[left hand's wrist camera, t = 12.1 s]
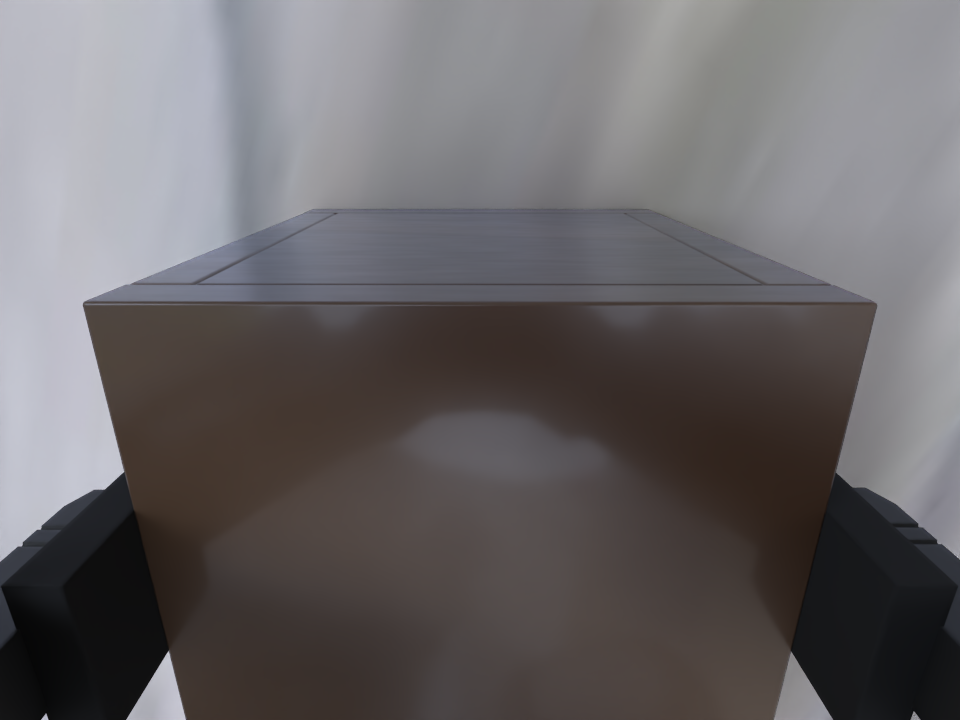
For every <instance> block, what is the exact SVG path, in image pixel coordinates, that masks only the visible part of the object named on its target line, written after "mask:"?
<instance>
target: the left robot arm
mask: <svg viewBox="0 0 960 720" xmlns="http://www.w3.org/2000/svg"><path fill="white" fill-rule="evenodd" d="M168 651H169V649H168V645H167V641H166V637H165V633H164V629H163V625H162V621H161V617H160V613H159V609H158V605H157V601H156V597H155V593H154V589H153V585H152V581H151V577H150V573H149V569H148V565H147V561H146V556H145V552H144V548H143V544H142V540H141V536H140V532H139V528H138V524H137V520H136V516H135V512H134V508H133V504H132V500H131V496H130V492H129V488H128V484H127V480H126V476H125V472H124V473H123V474H121V475H120V476H119V477H118V478H117V479H116V480H115V481H114V482H113V483H112V484H111V485H110V486H108V487H107V488H106V489H105V490H93V491H91V492H90V493H88V494H86V495H84V496H82V497H80V498H79V499H77V500H75V501H73V502H71V503H69V504H68V505H66V506H64V507H63V508H62V509H61V510H59V511H58V512H57V513H56V514H55V515H54V516H53V517H51V518H50V519H49V520H48V521H47V522H46V523H45V524H43V525H42V528H41V530H37V531H35V532H34V533H33V534H32V535H31V536H30V537H28V538H27V539H26V540H25V541H24V542H23V546H22V547H17V548H16V549H15V550H14V551H12V552H11V553H10V554H9V555H8V556H7V557H6V558H4V559H3V560H2V561H1V562H0V720H41V719H42V718H43V716H44V715H45V714H47V717H48V719H49V720H126V719H127V717H128V716H129V714H130V712H131V711H132V709H133V708H134V706H135V704H136V703H137V701H138V699H139V698H140V696H141V695H142V693H143V691H144V690H145V688H146V686H147V685H148V683H149V682H150V680H151V678H152V677H153V675H154V673H155V672H156V670H157V668H158V667H159V665H160V664H161V662H162V660H163V659H164V657H165V655H166V654H167V652H168ZM791 652H792V653H793V655H794V656H795V658H796V660H797V661H798V663H799V665H800V666H801V668H802V669H803V671H804V673H805V674H806V676H807V678H808V679H809V681H810V683H811V684H812V686H813V687H814V689H815V691H816V692H817V694H818V696H819V697H820V699H821V700H822V702H823V704H824V705H825V707H826V709H827V710H828V712H829V714H830V715H831V717H832V718H833V720H911V717H912V714H913V711H915V713H916V714H917V715H918V717H919V718H920V719H921V720H960V560H959V559H958V558H957V557H956V556H955V555H954V554H952V553H951V552H950V551H949V550H948V549H947V548H946V547H944V546H943V545H942V544H937V540H936V539H935V538H934V537H933V536H932V535H931V534H929V533H928V532H927V531H926V530H925V529H924V528H919V527H918V523H917V522H916V521H914V520H913V519H912V518H911V517H910V516H909V515H908V514H906V513H905V512H904V511H903V510H902V509H901V508H899V507H898V506H897V505H896V504H894V503H892V502H891V501H889V500H887V499H885V498H883V497H881V496H880V495H878V494H876V493H874V492H872V491H870V490H869V489H867V488H852V487H851V486H850V485H849V484H848V483H847V482H845V481H844V480H843V479H842V478H841V477H840V476H839V475H838V474H837V473H835V477H834V481H833V485H832V489H831V493H830V497H829V501H828V505H827V509H826V513H825V517H824V521H823V525H822V529H821V533H820V537H819V541H818V545H817V549H816V553H815V557H814V561H813V565H812V569H811V573H810V577H809V581H808V585H807V589H806V593H805V597H804V601H803V605H802V609H801V613H800V617H799V621H798V625H797V629H796V633H795V637H794V641H793V645H792V649H791Z"/></svg>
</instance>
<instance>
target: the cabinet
mask: <svg viewBox="0 0 960 720" xmlns="http://www.w3.org/2000/svg"><path fill="white" fill-rule="evenodd" d="M83 307H84V311H85V316H86V320H87V324H88V328H89V332H90V336H91V340H92V344H93V348H94V352H95V356H96V360H97V364H98V368H99V372H100V376H101V380H102V384H103V388H104V392H105V396H106V400H107V404H108V408H109V412H110V416H111V420H112V424H113V428H114V432H115V436H116V440H117V444H118V448H119V452H120V456H121V460H122V464H123V468H124V472H125V476H126V480H127V484H128V488H129V492H130V496H131V500H132V504H133V508H134V512H135V516H136V520H137V524H138V528H139V532H140V536H141V540H142V544H143V548H144V552H145V556H146V561H147V565H148V569H149V573H150V577H151V581H152V585H153V589H154V593H155V597H156V601H157V605H158V609H159V613H160V617H161V621H162V625H163V629H164V633H165V637H166V641H167V645H168V649H169V653H170V657H171V661H172V665H173V669H174V673H175V677H176V681H177V685H178V689H179V693H180V697H181V701H182V705H183V709H184V713H185V717H186V720H774V717H775V713H776V709H777V705H778V701H779V697H780V693H781V689H782V685H783V681H784V677H785V673H786V669H787V665H788V661H789V657H790V653H791V649H792V645H793V641H794V637H795V633H796V629H797V625H798V621H799V617H800V613H801V609H802V605H803V601H804V597H805V593H806V589H807V585H808V581H809V577H810V573H811V569H812V565H813V561H814V557H815V553H816V549H817V545H818V541H819V537H820V533H821V529H822V525H823V521H824V517H825V513H826V509H827V505H828V501H829V497H830V493H831V489H832V485H833V481H834V477H835V473H836V469H837V465H838V461H839V457H840V453H841V449H842V445H843V441H844V437H845V433H846V429H847V425H848V421H849V417H850V413H851V409H852V405H853V401H854V397H855V393H856V389H857V385H858V381H859V377H860V373H861V369H862V365H863V361H864V357H865V353H866V349H867V345H868V341H869V337H870V333H871V329H872V325H873V321H874V317H875V313H876V309H877V303H876V302H873V301H871V300H868V299H866V298H864V297H861V296H859V295H856V294H854V293H851V292H849V291H846V290H844V289H842V288H839V287H837V286H832V285H831V284H828V283H826V282H823V281H821V280H819V279H816V278H814V277H811V276H809V275H806V274H804V273H802V272H799V271H797V270H794V269H792V268H789V267H787V266H784V265H782V264H780V263H777V262H775V261H772V260H770V259H767V258H765V257H763V256H760V255H758V254H755V253H753V252H750V251H748V250H746V249H743V248H741V247H738V246H736V245H733V244H731V243H728V242H726V241H724V240H721V239H719V238H716V237H714V236H711V235H709V234H707V233H704V232H702V231H699V230H697V229H694V228H692V227H690V226H687V225H685V224H682V223H680V222H677V221H675V220H672V219H670V218H668V217H665V216H663V215H660V214H658V213H656V212H653V211H651V210H606V209H313V210H310V211H308V212H305V213H304V214H301V215H299V216H296V217H294V218H292V219H289V220H287V221H284V222H282V223H279V224H277V225H274V226H272V227H269V228H267V229H265V230H262V231H260V232H257V233H255V234H252V235H250V236H247V237H245V238H242V239H240V240H238V241H235V242H233V243H230V244H228V245H225V246H223V247H220V248H218V249H215V250H213V251H211V252H208V253H206V254H203V255H201V256H198V257H196V258H193V259H191V260H188V261H186V262H183V263H181V264H179V265H176V266H174V267H171V268H169V269H166V270H164V271H161V272H159V273H156V274H154V275H152V276H149V277H147V278H144V279H142V280H139V281H137V282H134V283H132V284H130V285H124V286H122V287H119V288H117V289H114V290H112V291H109V292H107V293H104V294H102V295H100V296H97V297H95V298H92V299H90V300H87V301H85V302H84V303H83Z"/></svg>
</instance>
